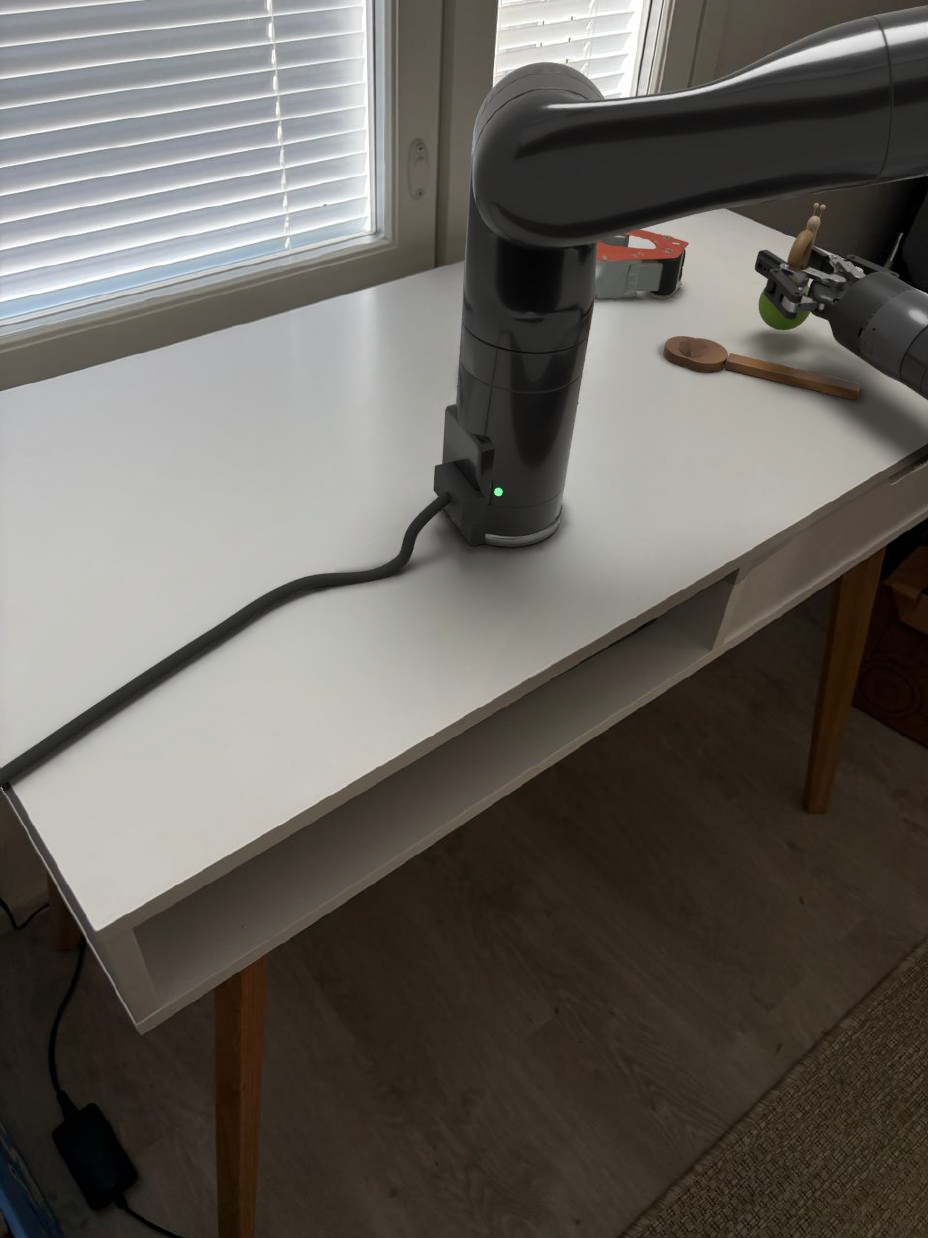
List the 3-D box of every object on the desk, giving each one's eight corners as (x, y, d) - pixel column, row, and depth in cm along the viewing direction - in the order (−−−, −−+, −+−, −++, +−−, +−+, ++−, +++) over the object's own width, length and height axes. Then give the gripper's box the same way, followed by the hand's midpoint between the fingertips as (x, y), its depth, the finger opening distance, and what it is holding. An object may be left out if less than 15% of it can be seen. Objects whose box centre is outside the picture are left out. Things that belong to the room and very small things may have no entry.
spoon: (858, 383, 103) (861, 374, 102) (854, 408, 99) (857, 399, 99) (669, 339, 107) (671, 330, 107) (658, 361, 104) (660, 352, 103)
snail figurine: (811, 320, 109) (847, 209, 101) (796, 344, 105) (833, 230, 97) (762, 307, 111) (794, 196, 103) (746, 329, 107) (778, 216, 99)
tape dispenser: (537, 346, 107) (711, 322, 111) (540, 301, 103) (720, 278, 107) (492, 265, 119) (651, 245, 122) (493, 221, 115) (657, 202, 118)
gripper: (966, 279, 94) (843, 210, 105) (850, 303, 89) (733, 228, 100) (936, 352, 100) (821, 279, 110) (824, 378, 94) (715, 299, 105)
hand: (780, 255), depth 105 cm, fingers closed on snail figurine, 4 cm apart
